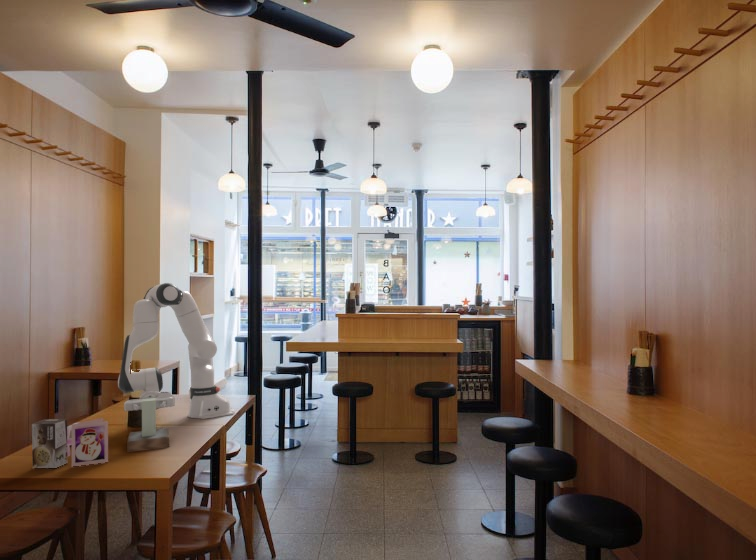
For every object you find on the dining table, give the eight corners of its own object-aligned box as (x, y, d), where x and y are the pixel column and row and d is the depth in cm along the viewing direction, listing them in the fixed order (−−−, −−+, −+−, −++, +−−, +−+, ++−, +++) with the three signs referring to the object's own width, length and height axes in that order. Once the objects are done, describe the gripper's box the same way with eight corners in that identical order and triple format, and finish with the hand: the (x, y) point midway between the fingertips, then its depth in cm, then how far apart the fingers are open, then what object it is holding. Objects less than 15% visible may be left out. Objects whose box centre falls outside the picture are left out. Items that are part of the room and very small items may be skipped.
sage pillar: (155, 432, 210) (155, 398, 210) (155, 435, 205) (155, 400, 205) (142, 433, 208) (142, 399, 208) (142, 436, 203) (141, 401, 203)
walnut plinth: (168, 437, 216) (168, 427, 216) (169, 446, 202) (169, 436, 202) (129, 441, 210) (129, 432, 210) (127, 452, 196) (127, 441, 196)
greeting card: (71, 468, 179) (71, 425, 179) (74, 461, 186) (74, 420, 186) (107, 463, 184) (107, 421, 184) (109, 457, 190) (109, 417, 191)
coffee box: (68, 463, 184) (68, 418, 185) (55, 469, 178) (55, 423, 178) (45, 463, 185) (44, 418, 186) (31, 469, 179) (31, 423, 179)
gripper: (124, 396, 225) (122, 402, 212) (174, 391, 233) (175, 397, 220) (124, 410, 225) (122, 417, 212) (174, 405, 233) (175, 411, 220)
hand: (149, 407), depth 216 cm, fingers open, 8 cm apart
